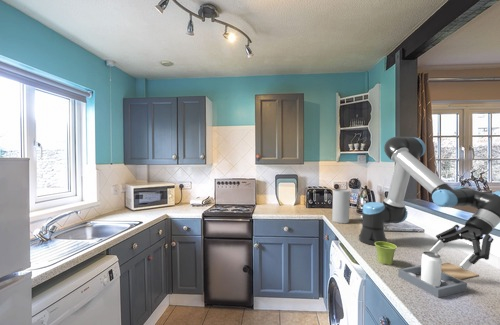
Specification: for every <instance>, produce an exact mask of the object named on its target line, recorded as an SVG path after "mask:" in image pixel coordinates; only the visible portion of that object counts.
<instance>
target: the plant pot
mask: <svg viewBox="0 0 500 325" xmlns="http://www.w3.org/2000/svg"><path fill="white" fill-rule="evenodd" d="M375 245H376V246H375V249H376V253H377V254H376V255H377V261H378V263H380V264H381V265H388V266H389V265H392V264H393V262H394V257H395V253H396V249H397V248H398V246H397V245H396V244H394V243H391V242H389V241H387V242H381V241H378V242H375Z"/></svg>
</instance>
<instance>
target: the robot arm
mask: <svg viewBox="0 0 500 325" xmlns="http://www.w3.org/2000/svg"><path fill="white" fill-rule="evenodd" d="M426 148H427V147H426V144H425V142H424V141H423V140H422V139H421V138H418V137H415V136H393V137H390V138H389V139H388V140H387V141H386V142H385V143H384V146H383V149H384V153H385V155H386V157H388V159H389V160H391V162H393V163H395V165H394V167H393V168H394V169H393V173H392V177H391V181H390V185H389V190H388V194H387V197H386V198H384V199H383V201H382V202H378V201H377V202H376V201H369V202H366V203H364V204H363V206H362V225H361V226H362V227H361V230H360V233H359V234H358V240H359V242H361V243H363V244H366V245H369V246H370V245H371V246H374V247H376V245H375V242H378V241H381V242H388V239H387V237H386V233H385V225H389V224H399V223H403V222H404V221H406V219H407V218H408V215H409V214H408V211H407V207H406V204H405V202H404V200H405V196H406V193H407V188H408V186H409V181H410V178H411V177H412V178H413V179H414V180H415V181H416V182H417V183H419V184H420V185H421V186H422V187H423V188H424V189H425V190H426V191H427V192H428V193H430V194H431V199H432V201H433V204H435V205H436V206H438V207H440V208H454V207H472V208H475V209H477V210H476V211H475V212H474V213H473V214H472V215H471V216H470V217H469V218H468V219H467V220H466V222H465V223H464V224H465V225H463V226H460V225H459V224H455V225H454V226H452V227H451V228H449V229H447V230H444V231H442V232H441V233H439V234H436V235H435V238H437V241H435V243H434V244H433V246H432V247H431V248H430V249H429V251H428V252H433V253H436V254H438V253H439V252H440V251H441V250H442V248H444V247H445V245H446V243H450V242H454V241H457V240H465V241H469V242H471V244H472V249H473V251H472V252H470V253H469V254H468V255H467V256H466V257H465V259H463V261H461V263H460V264H459V267H460V268H463V269H464V270H465V271H466V270H468V269H469V268H470V267H471V266H472V265H476V264H477V262H478V261H479V260H481V259H484V260H486V261H487V260H489V259H490V253H491V247H492V243H493V241H494V240H495V239H494V237H492V236H491V235H490V233H491V232H492V231H493V229H495V228H496V227H497V226H498V225H499V224H500V190H496V191H495V192H493V193H487V192H483V191H479V190H477V189H473V188H470V187H466V186H461V185H459V186H456V187H454V188H452V187H451V186H450V185H449V184H447V183H446V182H445V180H443V179H441V178H440V177H439V176H438V175H437V174H436V173H434V171H432V170H431V169H429V168H428V167H427V166H426V165H424V164H423V162H421V161H420V160H419V158H421V157H422V156H424V155H425V153H426V150H427V149H426ZM481 240H482V242H480V241H481Z"/></svg>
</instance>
